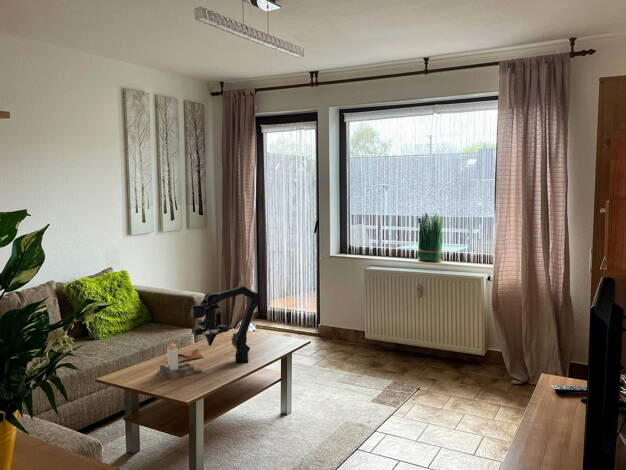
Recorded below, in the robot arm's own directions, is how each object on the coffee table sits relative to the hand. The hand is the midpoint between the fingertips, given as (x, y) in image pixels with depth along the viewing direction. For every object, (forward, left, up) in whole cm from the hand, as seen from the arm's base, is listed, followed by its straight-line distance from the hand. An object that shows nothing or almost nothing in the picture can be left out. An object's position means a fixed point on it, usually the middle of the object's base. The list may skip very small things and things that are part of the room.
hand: (209, 345), depth 287 cm
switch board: (+15, +7, -12) cm, 20 cm away
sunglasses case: (+14, -15, -13) cm, 24 cm away
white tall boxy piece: (+18, +9, -10) cm, 23 cm away
